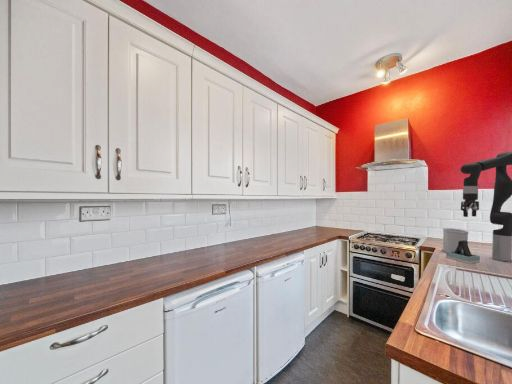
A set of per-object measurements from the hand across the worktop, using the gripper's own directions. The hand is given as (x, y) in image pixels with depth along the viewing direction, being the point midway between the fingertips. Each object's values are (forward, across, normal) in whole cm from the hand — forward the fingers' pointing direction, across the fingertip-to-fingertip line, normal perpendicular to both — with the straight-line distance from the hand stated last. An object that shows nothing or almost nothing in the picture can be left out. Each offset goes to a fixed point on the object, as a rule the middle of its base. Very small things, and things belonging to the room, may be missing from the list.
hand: (469, 216), depth 156 cm
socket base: (+30, +2, -2) cm, 30 cm away
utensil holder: (+30, -14, -17) cm, 37 cm away
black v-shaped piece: (+29, +2, -2) cm, 29 cm away
